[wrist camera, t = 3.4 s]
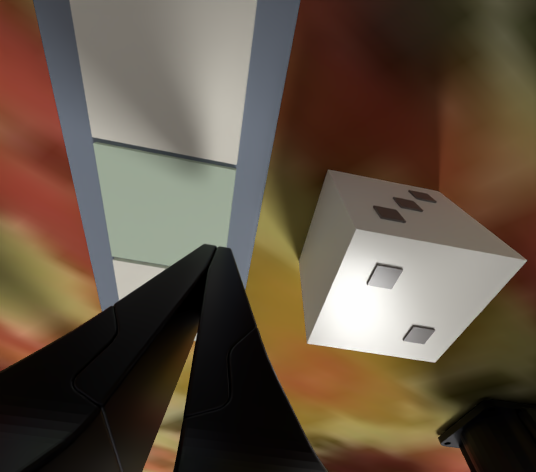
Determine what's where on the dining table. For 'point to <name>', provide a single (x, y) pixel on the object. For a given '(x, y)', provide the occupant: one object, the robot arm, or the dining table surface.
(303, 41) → the dining table surface
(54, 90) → the track board
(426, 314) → the die
